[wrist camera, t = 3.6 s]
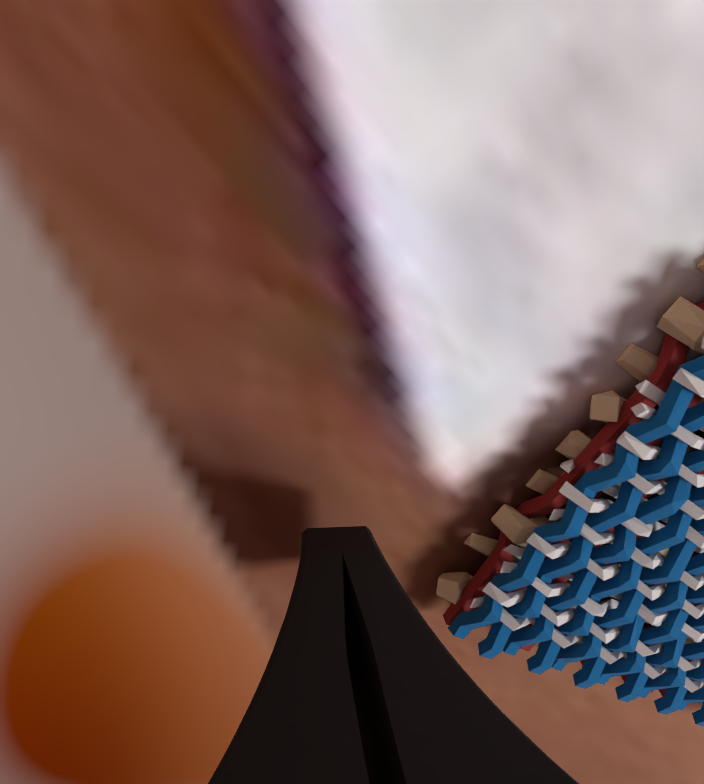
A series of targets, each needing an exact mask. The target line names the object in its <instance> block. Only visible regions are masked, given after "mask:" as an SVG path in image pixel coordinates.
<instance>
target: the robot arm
mask: <svg viewBox="0 0 704 784" xmlns="http://www.w3.org/2000/svg"><path fill="white" fill-rule="evenodd" d="M208 784H579V783H577V782H576V781H575V780H574V779H573V778H572V777H571V776H569V775H568V774H567V773H566V772H565V771H564V770H563V769H562V768H560V767H559V766H558V765H557V764H556V763H555V762H554V761H552V760H551V759H550V758H549V757H548V756H547V755H546V754H545V753H544V752H543V751H542V750H541V749H540V748H539V747H538V746H537V745H536V744H534V743H533V742H532V741H531V740H530V739H529V738H528V737H527V736H526V735H525V734H524V733H523V732H522V731H521V730H520V729H519V728H518V727H517V726H516V725H515V724H514V723H513V722H512V721H511V720H510V719H509V718H508V717H507V716H506V715H504V714H503V713H502V711H501V710H500V709H499V708H498V707H497V706H496V705H495V704H494V703H493V702H492V701H491V700H490V699H489V698H488V697H487V695H486V694H485V693H484V692H483V691H482V690H481V689H480V688H479V687H478V686H477V685H476V683H475V682H474V681H473V680H472V679H471V678H470V677H469V675H468V674H467V673H466V672H465V671H464V670H463V669H462V667H461V666H460V665H459V664H458V663H457V661H456V660H455V659H454V658H453V657H452V655H451V654H450V653H449V652H448V650H447V649H446V648H445V647H444V645H443V644H442V643H441V641H440V640H439V639H438V637H437V636H436V635H435V633H434V632H433V631H432V630H431V628H430V627H429V626H428V624H427V623H426V621H425V620H424V619H423V617H422V616H421V614H420V613H419V612H418V610H417V609H416V607H415V606H414V604H413V603H412V601H411V600H410V598H409V597H408V595H407V594H406V592H405V591H404V589H403V588H402V586H401V585H400V583H399V581H398V580H397V578H396V577H395V575H394V573H393V572H392V570H391V568H390V567H389V565H388V563H387V562H386V560H385V558H384V556H383V555H382V553H381V551H380V549H379V547H378V545H377V543H376V541H375V539H374V537H373V535H372V533H371V531H370V530H369V529H368V528H367V527H366V526H357V527H332V528H307V529H306V530H305V531H304V532H302V548H301V557H300V563H299V568H298V572H297V577H296V581H295V585H294V588H293V592H292V595H291V599H290V602H289V606H288V609H287V613H286V616H285V619H284V622H283V624H282V627H281V630H280V633H279V635H278V638H277V641H276V644H275V646H274V649H273V652H272V654H271V657H270V659H269V662H268V664H267V667H266V669H265V672H264V674H263V676H262V679H261V681H260V683H259V685H258V688H257V690H256V692H255V694H254V697H253V699H252V701H251V703H250V705H249V707H248V709H247V711H246V713H245V715H244V717H243V719H242V721H241V724H240V725H239V727H238V729H237V732H236V734H235V735H234V738H233V739H232V741H231V743H230V745H229V747H228V749H227V751H226V753H225V755H224V757H223V758H222V760H221V762H220V764H219V765H218V767H217V769H216V771H215V772H214V774H213V776H212V778H211V779H210V781H209V783H208Z"/></svg>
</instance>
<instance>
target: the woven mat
mask: <svg viewBox="0 0 704 784" xmlns="http://www.w3.org/2000/svg"><path fill="white" fill-rule="evenodd" d="M696 267H697V268H698V269H700V270H701V271H702V272H703V273H704V258H703V259H702V260H701V261H700V262H699V264H698V265H697V266H696ZM656 327H657V328H659V329H661V330H662V331H664V332H666V333H667V334H666V335H665V337H664V340H663V343H662V347H661V351H660V354H659V357H657V356H656V355H654V354H652V353H650V352H648V351H646V350H644V349H642V348H640V347H638V346H636V345H634V344H632V343H631V344H630V345H629V346H628V347H627V348H626V349H625V351H624V352H623V353H622V354H621V355H620V357H619V358H618V359H617V360H616V363H617V364H618V365H619V366H621V367H622V368H623V369H624V370H626V371H627V372H628V373H629V374H630V375H632V376H633V377H634V378H636V379H638V380H639V381H641V383H639V384H638V385H636V388H637V390H636V391H635V392H634V393H633V394H632V395H631V396H630V397H629V399H628V400H627V399H625V398H623V397H621V396H620V395H618V394H616V393H615V392H614V391H606V392H602V393H598V394H594V395H592V399H591V403H590V419H592V420H598V421H603V422H606V425H605V426H604V427H603V428H602V429H601V430H600V431H599V433H598V434H597V435H596V436H595V437H594V438H593V439H591V438H590V437H588V436H587V435H585V434H584V433H582V432H581V431H579V430H576V431H571V432H570V433H569V434H568V435H567V436H566V438H565V439H564V440H563V441H562V442H561V443H560V445H559V446H558V447H557V448H556V449H555V450H556V451H558V452H559V453H561V454H562V455H564V456H565V457H567V458H569V459H570V460H568V461H565V462H562V463H561V465H560V467H561V468H562V469H564V470H565V471H564V472H563V473H562V474H561V476H560V477H556V476H554V475H552V474H550V473H547V472H545V471H543V470H541V469H539V470H538V471H537V472H536V473H535V474H534V476H533V477H532V478H531V479H530V480H529V482H528V483H527V484H526V486H527V487H529V488H531V489H533V490H535V491H537V492H539V493H541V494H543V495H541V496H538V497H535V498H533V499H530V500H527V501H524V502H523V503H522V504H521V505H520V506H519V507H518V508H517V509H514V508H512V507H511V506H509V505H507V504H504V505H503V506H502V507H501V508H500V509H499V510H498V511H497V513H496V514H495V515H494V516H493V517H492V518H491V522H492V523H493V524H494V525H496V526H497V527H498V528H499V529H500V530H501V532H500V536H499V539H498V540H495V539H492V538H488V537H485V536H482V535H478V534H475V533H471V535H470V536H469V537H468V538H467V539H466V540H465V542H464V544H466V545H468V546H469V547H471V548H473V549H475V550H477V551H479V552H481V553H483V554H484V555H486V556H488V558H487V559H486V561H485V562H484V563H483V565H482V566H481V567H480V568H479V570H478V571H477V572H476V573H475V575H474V576H472V575H470V574H468V573H467V572H451V573H442V574H441V575H440V577H439V578H438V584H437V591H436V595H438V596H440V597H442V598H444V599H446V600H448V601H449V602H451V603H452V604H451V606H450V607H449V608H448V609H447V611H446V612H445V613H444V615H443V617H444V619H445V622H446V624H447V625H450V626H449V627H448V629H449V630H450V631H451V633H452V634H453V635H454V636H456V637H459V638H462V639H464V638H465V637H466V636H467V634H468V633H469V632H470V631H471V630H472V629H476V628H479V627H483V626H486V625H490V624H492V625H491V628H490V631H489V633H488V636H487V638H486V639H484V640H483V641H481V642H480V643H478V647H479V656H483V657H487V658H490V659H492V658H493V657H495V656H496V655H498V654H499V653H501V652H502V651H504V652H505V653H508V654H511V655H515V654H516V652H517V651H518V650H519V648H521V649H524V650H528V651H530V650H531V648H532V647H533V646H534V645H535V643H540V644H539V645H538V650H537V652H536V654H535V655H534V656H532V657H531V658H529V659H528V660H527V664H528V669H529V671H530V672H533V673H537V674H541V673H543V672H544V671H546V670H548V669H549V668H551V667H552V668H554V669H557V670H560V671H561V670H562V669H563V668H564V667H565V665H566V664H567V663H570V662H575V661H579V660H581V661H580V662H581V663H582V665H583V667H582V669H581V670H579V671H578V672H576V673H575V674H573V677H574V682H575V686H577V687H581V688H585V689H586V688H588V687H590V686H592V685H594V684H596V683H600V684H603V685H604V684H605V683H606V682H607V681H608V680H609V679H610V678H611V677H613V676H620V675H621V677H622V679H623V680H624V684H622V685H620V686H618V687H616V688H615V689H616V693H617V697H618V700H622V701H626V702H629V701H631V700H633V699H635V698H637V697H639V696H640V697H643V698H645V697H646V696H647V695H648V694H649V693H650V692H653V691H654V690H657V689H658V690H659V691H660V693H661V695H662V696H663V697H661V698H659V699H657V700H655V701H654V702H655V705H656V708H657V711H658V712H659V713H663V714H669V713H671V712H673V711H676V710H678V709H680V710H683V709H684V708H685V707H686V706H687V704H688V703H696V702H703V705H702V707H701V709H700V710H698V711H696V712H694V713H692V715H693V718H694V721H695V724H697V725H701V726H704V439H703V438H701V437H699V436H697V435H695V432H696V430H701V431H702V432H704V301H703V302H701V303H699V304H697V305H694V304H693V303H691V302H689V301H688V300H686V299H684V298H683V297H681V296H680V297H679V298H678V299H677V300H676V301H675V303H674V304H673V305H672V306H671V307H670V308H669V309H668V310H667V311H666V312H665V314H664V315H663V316H662V317H661V319H660V321H659V323H658V325H657V326H656ZM688 348H690V349H692V350H693V351H695V352H696V353H698V354H699V355H701V356H700V357H698V358H696V359H694V360H691V361H689V362H687V363H685V359H686V355H687V351H688ZM684 363H685V364H684ZM657 404H658V405H659V409H658V411H657V410H655V409H653V408H654V407H655V406H656V405H657ZM639 457H640V458H641V459H643V460H648V461H643V462H638V460H639ZM667 477H668V479H667ZM693 486H695V487H694V488H692V487H693ZM602 492H604V493H606V494H608V495H610V496H612V497H614V498H616V499H617V500H616V501H615V502H612V501H610V500H608V499H605V498H603V497H601V495H602ZM646 497H647V498H649V499H648V500H647V499H645V498H646ZM563 505H566V508H565V509H560V508H561V507H562V506H563ZM550 513H552V514H551V516H550V519H549V518H547V517H545V516H544V515H547V514H550ZM553 520H555V521H557V522H555V521H553ZM517 545H519V546H521V547H523V548H525V549H523V548H520V547H517ZM597 576H598V577H599V578H601V579H597ZM694 576H695V577H694ZM526 588H527V589H526ZM568 608H571V609H568ZM565 609H567V610H565ZM644 622H645V623H644ZM522 627H524V628H522ZM519 628H520V629H519Z"/></svg>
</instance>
